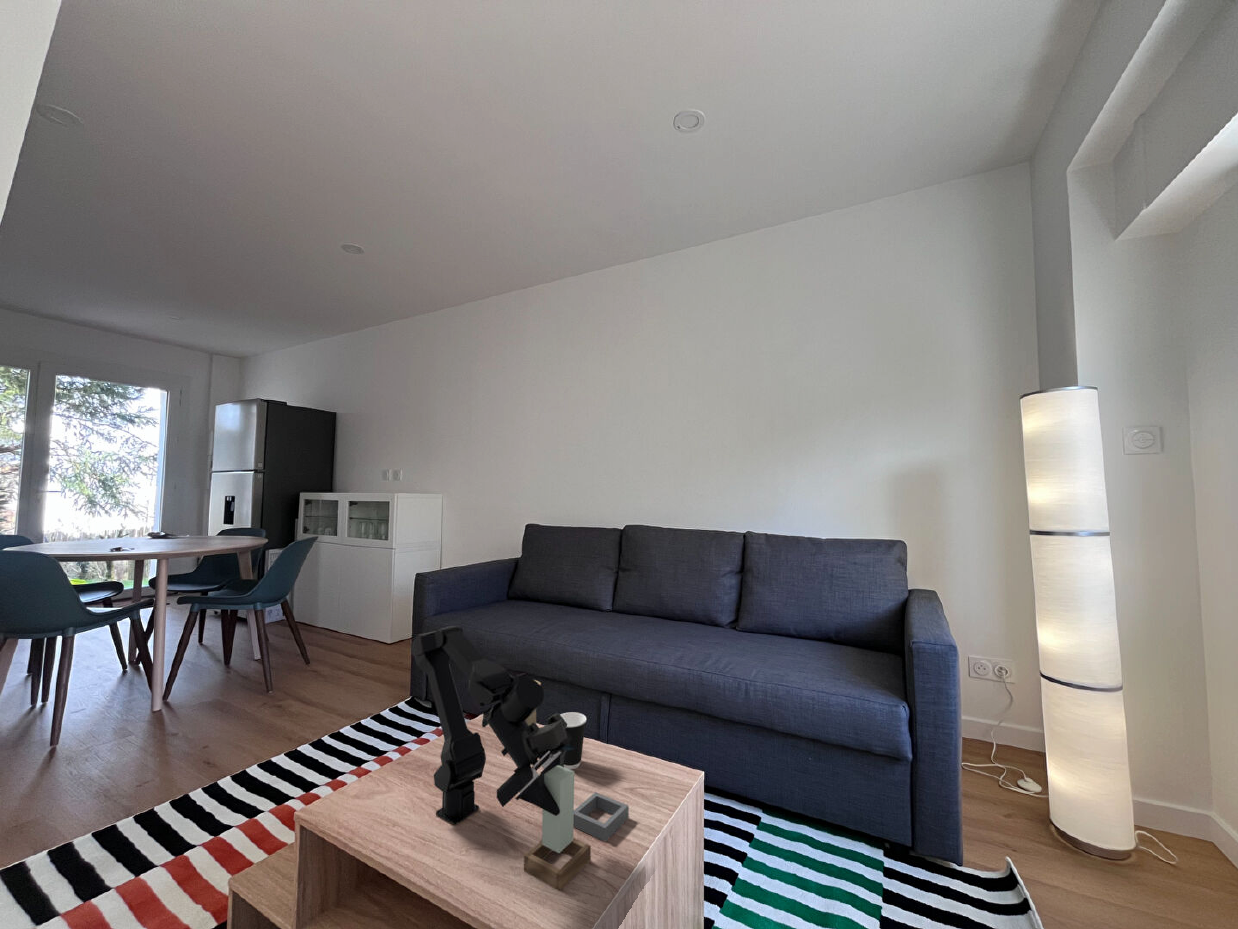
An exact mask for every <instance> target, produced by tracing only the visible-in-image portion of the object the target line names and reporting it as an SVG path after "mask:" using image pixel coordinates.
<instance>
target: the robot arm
mask: <svg viewBox="0 0 1238 929" xmlns="http://www.w3.org/2000/svg"><path fill="white" fill-rule="evenodd" d="M410 652H411V654H412V656H413V657H414V661H415V663H416V666H417V667H418V668H419V669H420V670H422V671H423V672H424V673H425V674H426V675H427V678H428V682H429V685H430V689H431V694H432V697H433V699H434V700H433V701H434V704H435V707H436V711H437V715H438V720H439V723H440V727H441V732H442V735H443V740H444V741H443V745H442V748H441V753H440V762H441V765H440V766H439V767H438V769H437V770H436V771H435V772H434V773H433V781H434V783H433V784H434V786H435V787H436V788H437V789H438V790H440V791H441V792H442V801H441V803H442V804H441V806H442V807H441V808H439V809H438V810H436V811H435V815H436V816H438V817H439V818H441V819H443V820H445V821H446V822H448V823H450V824H452V825H453V826H455V825H458V824H459V823H461V822H462V821H464V820H465V819H467V818H468V817H470V816H471V815H473V814H474V813H476V812H477V811H479V810H480V806H479V804H476V803H475V802H476V801H475V798H476V797H475V796H476V792H475V782H474V781H475V780H477V779H480V778H482V777H483V772H484V769H485V764H486V761H487V755H486V752H485V748H484V747H483V744H482V739H481V735H480V734H479V733H478V732H474V733H473V732H472V731H471V730H470V729H469V728H468V726H467V723H466V722H467V721H466V719H465V716H464V712H463V708H462V705H461V701H460V697H459V695H458V690H457V687H456V684H455V681H454V677H453V672H452V670H451V669H452V668H451V665H450V663H451V660H452V661H453V663H454V664H455V665H456V666H457V667H458V669H459V670H460V671H461V673H463V675H464V676H465V678H466V679H467V681H468V686H467V687H468V688H467V690H468V692H469V695H470V696H471V698H472V701H474V702H475V704H477V706H479V707H484V706H488V705H491V704H493V703H495V702H496V704H495V705H494V706H490V707H489V708H487V709H485V710H484V711H483V712H482V720H481V726H482V728H486V727H487V726H488V725H489V727H490V728H491V730H492V731H493V733H494V734H495V735H496V737H497V739H498V740H499V742H500V743H501V744H502V746H503V748H502V750H501V751H500V753H501V754H502V755H503V757H505V756H507V755H509V757H510V759H511V760H512V761H513V763H514V764H515V766H516V768H515V769H514V770H513V772H514V773H513V774H512V775H511V776H509V777H508V778H507V779H506V781H505V782H503V783H502V784H501V785H500V786H499V787H498V788H497V789H496V799H497V800H498V802H499V804H500V805H501V806H502V808H504V807H505V806H506V805H507V804H508V803H509V802H510V801H511V800H512V799H514V798H515V800H516V801H518V800H519V799H520V800H522V801H525V802H526V803H529V804H532V805H534V806H536V807H538V808H540V809H542V811H543V810H545V811H547V812H549V813H551V814H553V815H555V816H557V815H558V814H559V813H560V809H559V807H558V805H557V803H556V802H555V800H554V798H553V797H552V795H551V793H550V792H549V790H548V788H547V787H546V785H545V782H544V774H545V773H547V772H548V771H550V770H551V769H553V768H554V767H556V766H557V765H559V766H562V767H564V755H565V753H566V749H565V750H564V751H563V752H560V750H561V749H562V748H563V747H565V746H566V745H567V744H568V743H569V742H570V741H571V740H572V738H571V737H570V735H569V734H568V732H567V731H565V729H566V727H567V723H566V722H565V721H564V719H563V718H562V717H561V716H560V715H561V714H560V713H558V712H557V713H555V714H553V715H551V716H550V717H549V718H548V720H547V723H546V724H545V725H544V726H542V727H539V726H538V724H537V723H536V724H535V723H532V724H531V725H529V724H528V723H527V721H526V719H527V718H528V717H529V716H530V715H531V714H532V713H533V712H534V711H535V710H536V711H537V709H538V708H539V707H540V706H541V705H542V703H544V702H543V701H544V698H545V693H544V692H545V691H544V689H543V687H542V684H541V685H539V684H538V683H537V682H536V681H537V680H536V679H533V678H529V677H528V676H527V674H526V672H524V673H521V674H517V675H516V676H514V675H512V674H511V673H510V671H508V669H506V668H505V667H504V666H503V665H501V664H500V663H497V662H493V661H490V660H488V659H486V658H485V656H484V655H483V654H482V653H481V652H480V651H479V650H478V649H477V647H476V646H475V645H474V644H473V643H472V642H471V641H470V640H469V639H468V638H467V636H466V635H465V634H464V632H463V629H462V627H461V626H458V625H452V626H446V627H443V628H440V629H439V630H435V631H429V632H425V633H421V634H416V636H415V638H414V640H413V641H411V644H410ZM535 680H536V681H535ZM538 759H539V760H538ZM531 765H532V766H531ZM541 767H542V768H543V769H542V771H541V772H540V773H539V772H538V770H539V769H540V768H541Z"/></svg>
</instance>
